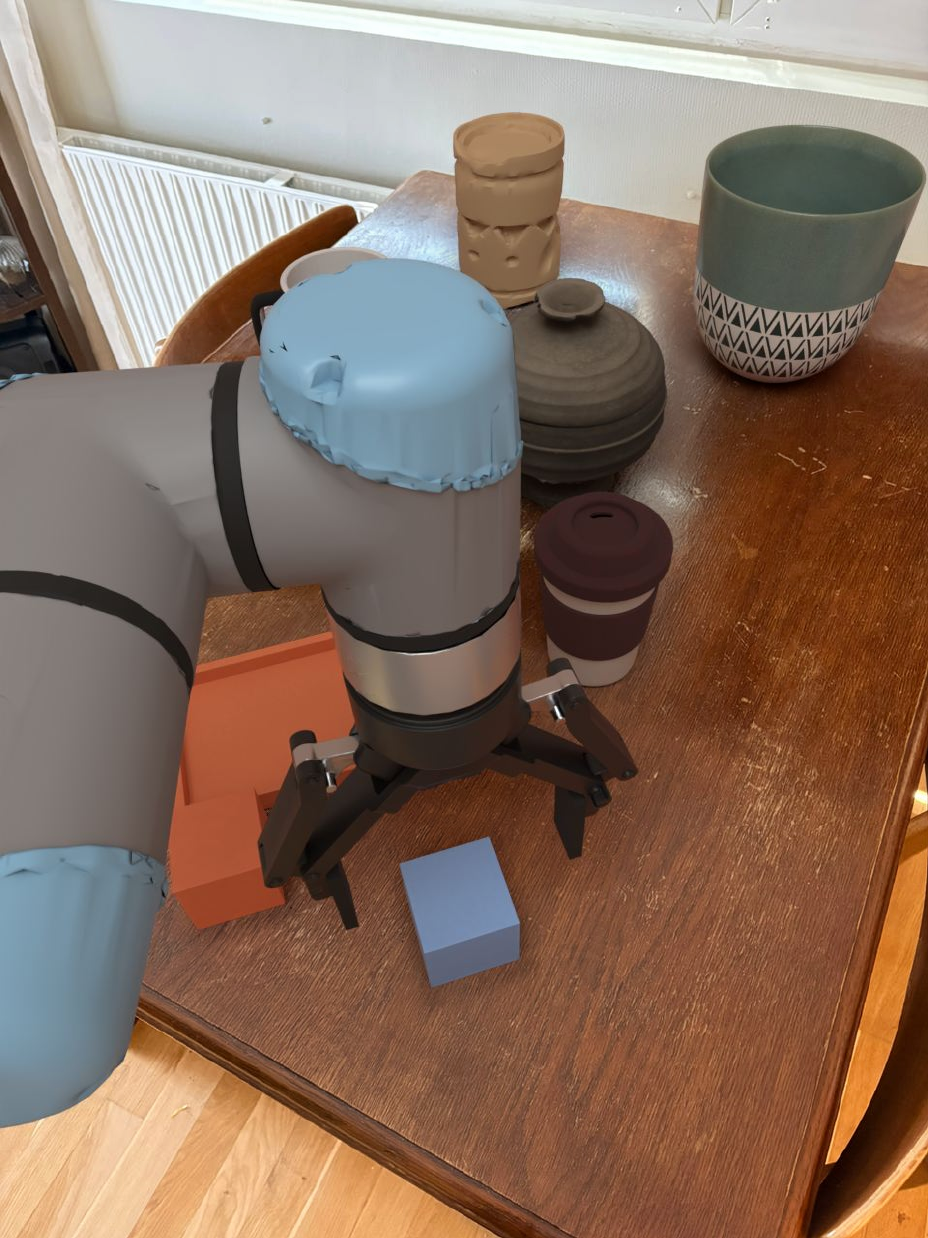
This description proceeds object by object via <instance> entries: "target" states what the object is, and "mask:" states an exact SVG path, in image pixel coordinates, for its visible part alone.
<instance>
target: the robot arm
mask: <svg viewBox="0 0 928 1238" xmlns="http://www.w3.org/2000/svg"><path fill="white" fill-rule="evenodd" d="M265 317H266V318H265V320H264V323H263V327H262V331H261V335H260V346H259V349H260V355H250V356H248V357H246V358H245V360H237V361H235V360H234V361H217V362H205V363H204V362H202V363H190V364H176V365H161V366H160V365H159V366H147V367H146V366H145V367H133V368H118V369H106V370H104V369H103V370H92V371H91V370H90V371H78V372H66V373H42V372H41V373H40V372H34V373H32V374H31V373H30V374H29V373H22V374H21V373H20V374H12V376H11V377H10V378H9V379H0V1129H5V1128H12V1127H17V1126H22V1125H27V1124H31V1123H34V1122H35V1123H36V1122H37V1121H40V1120H43V1119H47V1118H50V1117H53V1116H56V1115H59V1114H61V1113H63V1112H65V1111H68V1110H69V1109H72V1108H74V1107H75V1106H77V1105H78V1104H80V1103H82V1102H83V1101H85V1100H87V1099H88V1098H89V1097H91V1095H92V1096H93V1094H94V1093H95V1092H96V1091H98V1089H99V1088H100V1087H101V1086H102V1085H103V1084H104V1083H105V1082H107V1081H108V1079H109V1078H110V1077H111V1076H112V1074H113V1073H114V1071H115V1070H116V1069H117V1068H118V1067H119V1066H120V1065H121V1064H123V1062H124V1060H125V1058H126V1056H127V1053H128V1051H129V1047H130V1043H131V1039H132V1036H133V1030H134V1025H135V1019H136V1016H137V1010H138V1006H139V1002H140V996H141V991H142V987H143V982H144V977H145V972H146V967H147V963H148V958H149V953H150V950H151V949H150V948H151V943H152V939H153V933H154V929H155V924H156V919H157V914H158V913H160V912H161V911H162V910H163V907H164V906H165V903H166V901H167V897H168V893H169V884H170V883H169V880H168V877H167V873H166V864H167V857H168V852H169V847H168V844H169V837H170V830H171V823H172V816H173V809H174V803H175V796H176V789H177V782H178V775H179V768H180V761H181V754H182V747H183V740H184V733H185V726H186V720H187V713H188V706H189V701H190V694H191V690H192V687H193V684H194V680H195V674H196V667H197V665H198V660H199V654H200V648H201V642H202V635H203V628H204V623H205V614H206V609H207V602H208V599H212V598H213V599H214V598H219V597H221V598H222V597H228V596H236V595H237V596H238V595H245V594H252V593H253V594H254V593H262V592H263V593H264V592H271V591H280V589H282V588H291V587H299V586H310V585H319V586H320V591H321V595H322V599H323V602H324V607H325V608H324V609H325V612H326V616H327V619H328V623H329V627H330V631H331V632H332V636H333V639H334V643H335V647H336V651H337V655H338V659H339V663H340V665H341V667H342V672H343V677H344V682H345V686H346V689H347V693H348V697H349V701H350V705H351V709H352V713H353V717H354V720H355V722H354V725H353V726H352V728H351V730H350V732H349V736H347V737H342V738H338V739H333V740H328V741H324V742H319V743H317V740H316V735H315V733H314V732H312V731H310V730H301V731H298V732H295V733H294V734H292V735H291V737H290V739H289V743H290V749H291V756H292V763H291V765H290V768H289V770H288V772H287V775H286V777H285V779H284V781H283V784H282V786H281V788H280V791H279V793H278V795H277V797H276V800H275V802H274V804H273V807H271V809H270V810H269V811H270V812H269V814H268V815H267V820H266V823H265V825H264V827H263V829H262V832H261V834H260V836H259V839H258V841H257V844H258V851H259V857H260V863H261V869H262V875H263V881H264V886H265V887H267V888H277V887H280V886H283V887H284V885H286V884H287V883H288V882H289V880H290V878H293V877H295V878H296V877H297V878H301V881H302V882H303V883H304V884H305V886H306V888H307V890H308V893H309V895H310V897H311V899H312V900H314V901H316V902H319V901H322V900H326V899H330V898H333V901H334V903H335V906H336V908H337V910H338V913H339V915H340V918H341V921H342V923H343V926H344V929H345V931H350V930H352V929H355V928H359V927H360V923H359V920H358V916H357V911H356V907H355V903H354V899H353V894H352V890H351V885H350V882H349V879H348V876H347V874H346V871H345V868H344V866H343V862H342V859H343V858H344V857H345V856H346V855H347V854H348V853H349V852H350V851H351V849H353V848H354V846H355V845H356V844H357V843H359V841H360V840H361V839H362V838H363V837H364V836H365V835H366V834H367V833H368V832H369V831H370V830H371V829H372V828H373V826H374V825H376V823H378V821H380V819H382V818H383V816H384V815H385V814H386V815H395V814H397V813H398V812H399V811H400V810H401V809H402V808H403V807H404V806H405V805H406V804H407V803H408V802H409V801H410V800H411V799H412V798H413V797H414V796H415V795H416V794H417V793H418V791H420V792H421V793H422V792H425V791H429V790H431V789H432V790H433V789H435V788H438V787H441V786H442V785H444V784H446V783H449V782H451V781H456V780H464V779H469V778H472V777H475V776H479V775H482V774H483V772H484V771H486V770H490V771H493V772H496V773H499V774H501V775H504V776H507V777H510V778H513V779H516V778H517V777H519V776H521V774H522V775H525V776H528V777H531V778H534V779H535V780H536V779H537V780H539V781H542V782H545V783H548V784H551V785H554V801H553V802H554V803H553V823H554V826H555V828H556V830H557V833H558V835H559V838H560V840H561V843H562V845H563V847H564V850H565V852H566V855H567V857H568V860H569V861H571V860H574V859H577V858H580V857H583V856H582V854H583V844H584V835H585V825H586V818H589V817H592V816H595V815H597V813H598V812H599V811H600V809H602V808H605V807H606V806H608V805H609V804H611V802H612V800H613V797H612V794H611V792H610V791H609V788H608V786H607V784H606V783H608V782H609V781H610V780H613V779H614V778H616V779H617V780H618V781H620V782H626V781H629V780H631V779H634V778H635V777H636V776H637V775H638V774H639V768H638V766H637V765H636V762H635V761H634V759H633V756H632V755H631V752H630V751H629V749H628V746H627V744H626V742H625V741H624V739H623V737H622V735H621V733H620V732H619V731H618V730H617V728H616V727H615V726H614V725H613V724H612V723H611V722H610V721H609V720H608V719H607V717H605V716H604V714H603V713H602V712H601V711H600V710H599V709H598V708H597V707H596V705H595V704H594V703H593V702H592V701H591V700H590V699H589V698H588V696H587V694H586V692H585V690H584V688H583V685H581V684H580V682H579V680H578V678H577V676H576V673H575V671H574V670H573V668H572V666H571V664H570V662H569V660H568V659H567V658H563V657H561V658H557V659H555V660H552V661H550V662H549V663H547V665H546V667H545V672H546V677H545V678H542V679H539V680H537V681H534V682H531V683H528V684H525V685H523V684H522V683H523V682H522V681H523V680H522V676H523V675H522V674H523V673H522V671H523V669H522V668H523V665H522V641H523V629H522V628H523V627H522V602H521V600H522V598H521V597H522V596H521V500H522V499H521V497H522V494H521V457H522V449H523V441H522V440H521V429H520V420H519V406H518V392H517V377H516V363H515V348H514V333H513V330H512V328H511V325H510V323H509V321H508V318H507V315H506V313H505V310H503V308H502V307H501V306H500V304H499V303H498V301H497V300H496V298H495V297H494V296H493V295H492V294H491V293H490V292H489V291H488V290H487V289H486V288H485V287H484V286H482V285H481V284H480V283H478V282H477V281H476V280H474V279H472V278H471V277H469V276H467V275H465V274H464V273H462V272H460V270H457V269H454V268H452V267H449V266H446V265H444V264H440V263H436V262H431V261H427V260H422V259H421V260H420V259H413V258H400V257H398V258H397V257H387V258H381V259H372V260H363V261H357V262H352V263H350V264H349V265H348V266H347V267H346V269H345V271H342V272H339V273H336V274H315V275H313V276H311V277H309V278H306V279H304V280H303V281H301V282H299V283H298V284H296V285H295V286H293V287H292V288H291V289H289V290H288V291H287V292H286V293H285V294H283V295H282V296H281V297H280V299H279V300H278V301H277V302H276V303H275V304H274V305H273V306H271V308H270V310H269V311H268V313H267V315H265ZM537 712H538V713H541V714H542V713H543V714H544V716H545V717H547V718H552V719H553V721H554V723H555V725H556V726H563V725H565V726H566V728H567V730H568V732H569V733H570V734H571V735H572V737H573V738H574V739H575V740H576V741H577V742H578V743H577V742H574V741H572V740H569V739H567V738H565V737H563V736H559V735H557V734H555V733H553V732H550V731H548V730H545V729H542V728H540V727H537V726H535V725H532V724H531V723H530V721H531V719H532V715H533V714H532V713H537ZM353 764H355V765H356V767H355V768H354V769H353V771H352V772H351V773H350V774H349V775H348V776H347V777H346V778H345V780H344V781H343V782H342V783H341V784H340V785H339V786H338V787H337V783H336V780H337V779H338V778H339V777H340V775H341V773H342V771H343V770H344V769H345V768H346V767H348V766H350V765H353ZM330 793H331V794H330ZM328 794H330V795H329V796H328Z"/></svg>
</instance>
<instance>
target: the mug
mask: <svg viewBox="0 0 928 1238" xmlns="http://www.w3.org/2000/svg"><path fill="white" fill-rule="evenodd" d="M381 258H388V256H386V255H385V254H383V253H381V252H378V251H375V250H372V249H369V248H366V247H365V248H364V247H358V246H338V247H337V246H336V247H329V248H324V249H320V250H316V251H312V252H310V253H307V254H305V255H303V256H301V257H299V258H298V259H296V260H294V261H292V262H291V263H290V264H289V265H288V266H287V267H286V268H285V269H284V271H283V272H282V273H281V276H280V280H279V285H280V289H275V290H269V291H264V292H260V293H257V294H255V295H254V296H253V297H252V299H251V302H250V307H249V313H250V318H251V322H252V327H253V330H254V334H255V335H254V336H255V337H256V341H257V344H258V346H259V347H260V335H261V331H262V327H263V323H264V320H265V318H266V313H265V308H266V307H267V308H268V307H273V305H274V304H275V303H276V302H277V301H278V300H279V299H280V297H281V296H282V295H283V294H285V293H286V292H287V291H288V290H289V289H291V288H292V287H293V286H295V285H296V284H298V283H299V282H301V281H303V280H304V279H306V278H309V277H311V276H313V275H315V274H336V273H339V272H342V271H345V269H346V267H347V266H348V265H349V264H350V263H352V262H357V261H363V260H372V259H381Z"/></svg>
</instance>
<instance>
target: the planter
mask: <svg viewBox="0 0 928 1238" xmlns="http://www.w3.org/2000/svg"><path fill="white" fill-rule="evenodd" d="M702 179H703V180H702V189H701V196H700V197H701V198H700V200H701V201H700V211H699V221H698V231H697V238H696V248H695V249H696V250H695V262H694V271H693V273H694V274H693V282H692V302H693V312H694V313H693V314H694V317H695V323H696V327H697V331H698V334H699V336H700V338H701V340H702V342H703V343H704V345H705V347H706V348H707V350H708V351H709V352H710V354H712V356H713V357H714V358H715V359H716V360H717V361H718V362H719V363H720V364H721V365H723V366H724V367H725V368H727V369H728V370H729V371H731V372H733V373H734V374H736V375H738V376H740V377H742V378H745V379H749V380H751V381H755V382H760V383H766V384H767V383H769V384H780V383H781V384H783V383H791V382H796V381H799V380H802V379H806V378H808V377H811V376H814V375H816V374H818V373H820V372H822V371H824V370H826V369H828V368H830V367H832V365H834V364H835V363H836V362H838V361H839V360H840V359H842V358H843V357H844V356H845V355H846V354H847V353H848V352H849V351H851V349H852V347H854V345H855V344H856V343H857V341H858V340H859V338H860V337H861V335H863V334H864V331H865V329H867V326H868V325H869V323H870V322H871V320H872V317H873V316H874V314H875V311H876V309H877V308H878V304H879V302H880V299H881V297H882V294H883V293H884V290H885V287H886V285H887V282H888V280H889V278H890V276H891V273H892V270H893V267H894V266H895V262H896V260H897V257H898V256H899V253H900V249H901V247H902V245H903V243H904V240H905V238H906V236H907V233H908V230H909V228H910V226H911V223H912V221H913V218H914V216H915V213H916V211H917V208H918V206H919V203H920V200H921V198H922V195H923V192H924V190H925V186H926V183H927V172H926V169H925V167H924V165H923V163H922V162H921V161H920V160H919V159H918V157H917V156H915V155H914V154H913V153H912V152H910V151H909V150H907V149H906V148H904V147H902V146H901V145H899V144H897V143H895V142H893V141H891V140H888V139H886V138H883V137H880V136H877V135H875V134H871V133H868V132H864V131H860V130H855V129H850V128H846V127H845V128H844V127H838V126H830V125H819V124H783V125H773V126H766V127H760V128H755V129H750V130H747V131H743V132H739V133H737V134H735V135H732V136H730V137H728V138H725V139H724V140H722V141H720V142H719V143H718V144H717V145H715V146H714V147H713V148H712V149H711V150H710V151H709V153H708V154H707V157H706V159H705V164H704V171H703V178H702Z"/></svg>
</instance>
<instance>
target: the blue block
mask: <svg viewBox="0 0 928 1238" xmlns="http://www.w3.org/2000/svg"><path fill="white" fill-rule="evenodd" d="M398 865H399V869H400V874H401V879H402V883H403V889H404V893H405V896H406V897H405V898H406V902H407V905H408V909H409V911H410V912H409V913H410V916H411V920H412V924H413V926H414V930H415V934H416V938H417V941H418V945H419V949H420V953H421V957H422V960H423V963H424V967H425V970H426V975H427V979H428V982H429V986H430V988H431V989H433V988H436V987H439V986H443V985H445V984H448V983H451V982H454V981H457V980H461V979H463V978H466V977H469V976H472V975H475V974H476V975H477V974H478V973H482V972H485V971H488V970H490V969H491V970H492V969H494V968H497V967H501V966H503V965H507V964H509V963H512V962H516V961H519V960H520V956H521V955H520V951H521V950H520V948H521V947H520V946H521V921H520V919H519V916H518V913H517V910H516V908H515V905H514V901H513V899H512V896H511V893H510V890H509V888H508V885H507V882H506V879H505V877H504V874H503V872H502V868H501V865H500V863H499V859H498V856H497V854H496V851H495V848H494V845H493V843H492V840H491V837H490V836H485V837H483V838H479V839H476V840H472V841H469V842H466V843H463V844H460V845H456V846H453V847H449V848H445V849H443V850H439V851H437V852H433V853H430V854H426V855H423V856H419V857H416V858H413V859H409V860H407V861H403V862H400V863H399V864H398Z"/></svg>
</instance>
